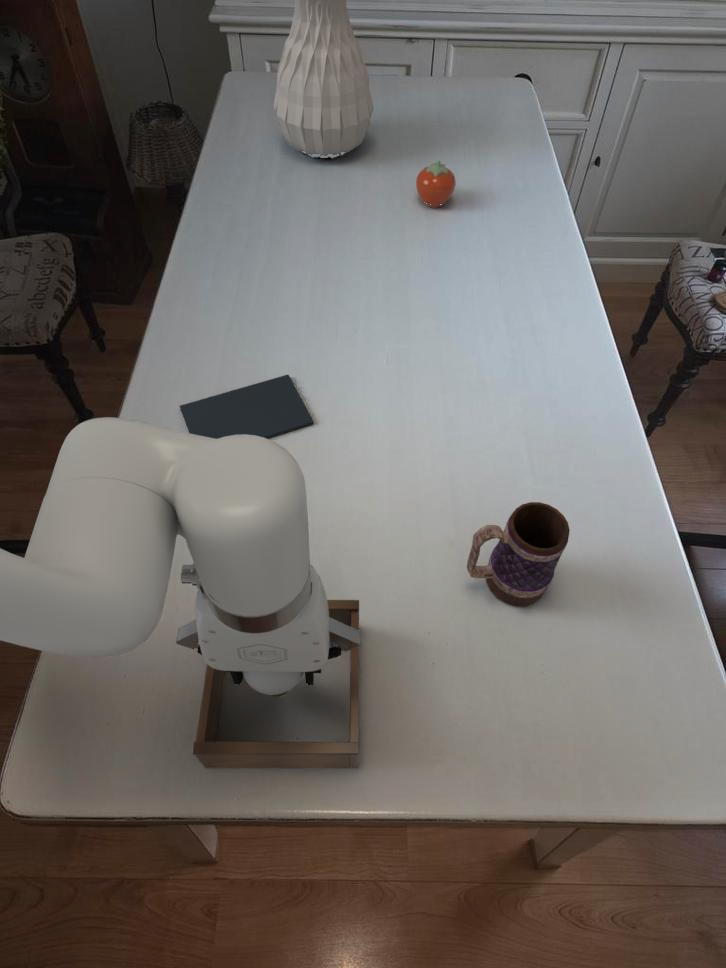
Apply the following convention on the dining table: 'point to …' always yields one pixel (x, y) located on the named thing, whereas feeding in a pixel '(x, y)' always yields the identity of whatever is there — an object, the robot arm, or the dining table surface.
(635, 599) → the dining table surface
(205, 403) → the mat
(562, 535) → the mug
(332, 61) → the vase
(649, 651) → the dining table surface
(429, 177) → the tomato
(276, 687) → the light bulb
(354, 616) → the brown wooden square frame
